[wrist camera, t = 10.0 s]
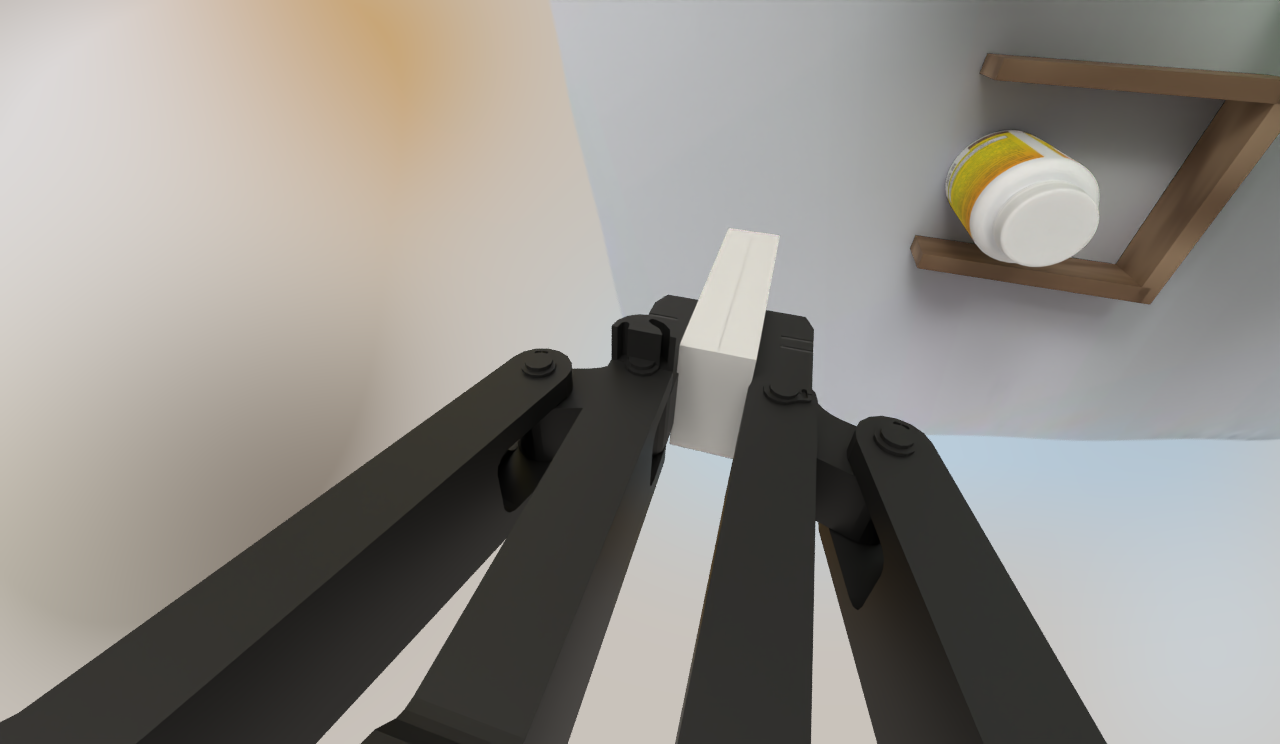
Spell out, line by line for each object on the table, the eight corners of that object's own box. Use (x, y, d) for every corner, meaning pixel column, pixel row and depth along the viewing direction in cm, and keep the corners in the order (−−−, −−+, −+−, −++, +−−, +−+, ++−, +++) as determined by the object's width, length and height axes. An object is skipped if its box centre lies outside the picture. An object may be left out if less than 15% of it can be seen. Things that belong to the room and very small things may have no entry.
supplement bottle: (928, 209, 35) (960, 270, 27) (967, 121, 31) (1017, 161, 23) (1016, 224, 34) (1076, 292, 26) (1066, 135, 30) (1153, 181, 22)
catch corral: (987, 53, 29) (1004, 58, 26) (1266, 74, 26) (1317, 82, 24) (910, 248, 36) (917, 268, 34) (1123, 280, 34) (1149, 304, 31)
